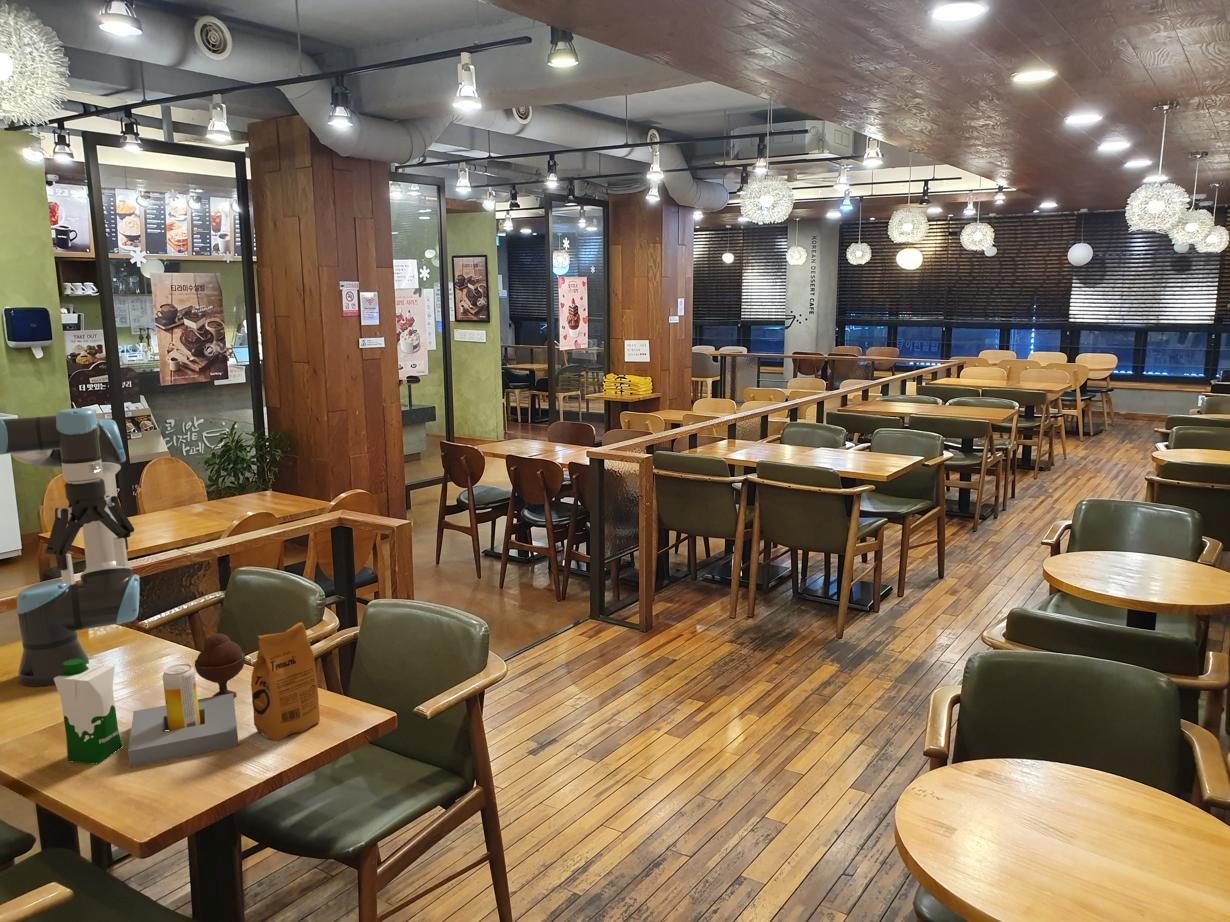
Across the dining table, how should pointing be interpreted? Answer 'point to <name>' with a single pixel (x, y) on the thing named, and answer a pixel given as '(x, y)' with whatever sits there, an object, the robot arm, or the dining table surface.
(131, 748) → the socket holder
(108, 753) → the milk carton
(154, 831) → the dining table surface
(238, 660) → the ice cream bowl
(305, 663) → the coffee package
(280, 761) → the dining table surface
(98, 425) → the robot arm
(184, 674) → the beer can
